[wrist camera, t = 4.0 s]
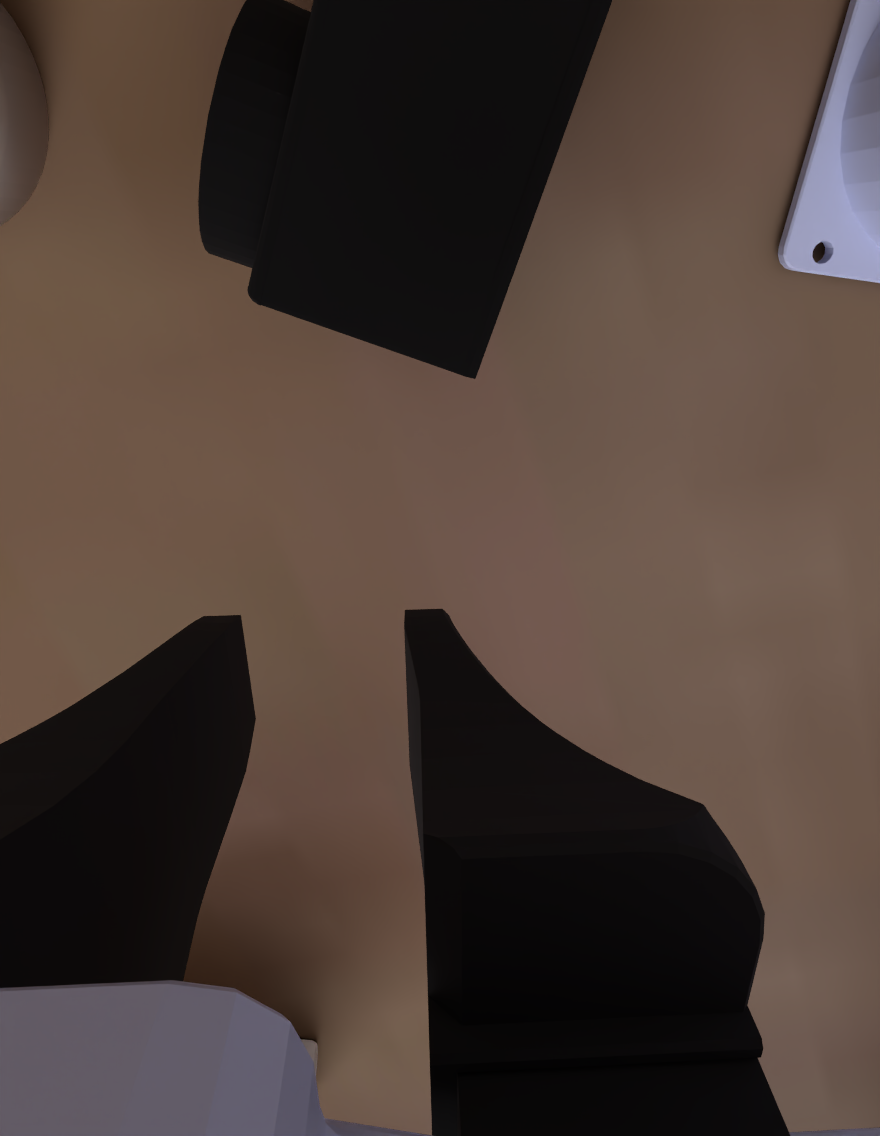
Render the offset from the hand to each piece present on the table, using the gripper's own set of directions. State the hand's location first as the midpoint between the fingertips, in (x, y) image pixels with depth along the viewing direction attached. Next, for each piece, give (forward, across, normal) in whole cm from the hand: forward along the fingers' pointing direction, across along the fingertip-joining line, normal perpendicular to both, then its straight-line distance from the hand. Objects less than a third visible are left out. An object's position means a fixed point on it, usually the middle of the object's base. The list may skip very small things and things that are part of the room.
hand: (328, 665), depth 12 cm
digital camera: (+10, -2, -10) cm, 14 cm away
